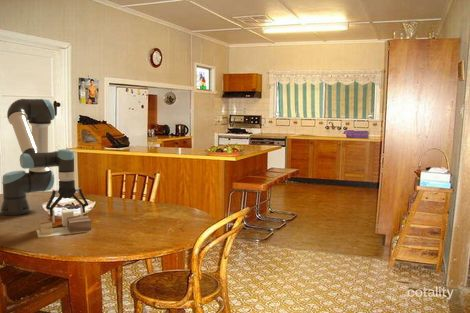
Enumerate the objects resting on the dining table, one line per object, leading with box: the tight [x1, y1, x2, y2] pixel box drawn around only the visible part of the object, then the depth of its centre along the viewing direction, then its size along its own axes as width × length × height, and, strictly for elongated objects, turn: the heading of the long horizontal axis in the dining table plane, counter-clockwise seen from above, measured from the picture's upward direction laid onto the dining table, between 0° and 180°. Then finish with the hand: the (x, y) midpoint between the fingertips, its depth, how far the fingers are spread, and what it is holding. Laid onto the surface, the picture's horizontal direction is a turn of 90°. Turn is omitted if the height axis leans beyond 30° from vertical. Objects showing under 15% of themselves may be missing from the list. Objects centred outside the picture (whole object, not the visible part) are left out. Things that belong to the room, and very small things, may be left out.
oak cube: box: [39, 220, 53, 235], centre depth 206 cm, size 5×5×5 cm
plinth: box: [66, 215, 92, 234], centre depth 213 cm, size 10×10×5 cm
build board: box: [36, 226, 89, 238], centre depth 210 cm, size 12×24×1 cm, turn 118°
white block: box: [61, 209, 75, 227], centre depth 220 cm, size 5×5×8 cm
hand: (67, 220), depth 220 cm, fingers open, 13 cm apart
